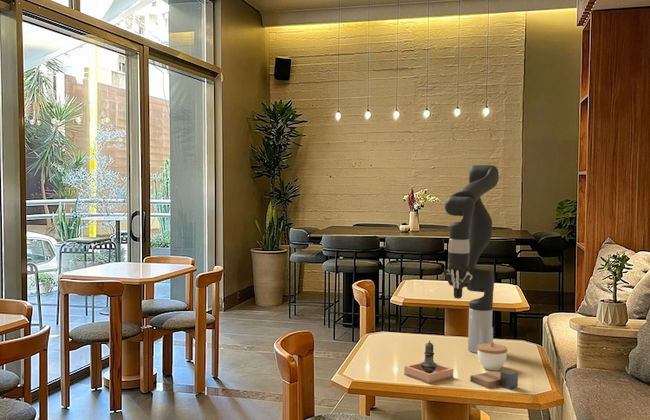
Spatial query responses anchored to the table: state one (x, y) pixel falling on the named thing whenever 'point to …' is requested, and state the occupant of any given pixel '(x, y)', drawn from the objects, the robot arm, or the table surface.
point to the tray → (438, 375)
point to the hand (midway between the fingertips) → (457, 298)
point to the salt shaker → (428, 359)
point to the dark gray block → (509, 379)
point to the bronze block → (487, 379)
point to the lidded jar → (492, 355)
